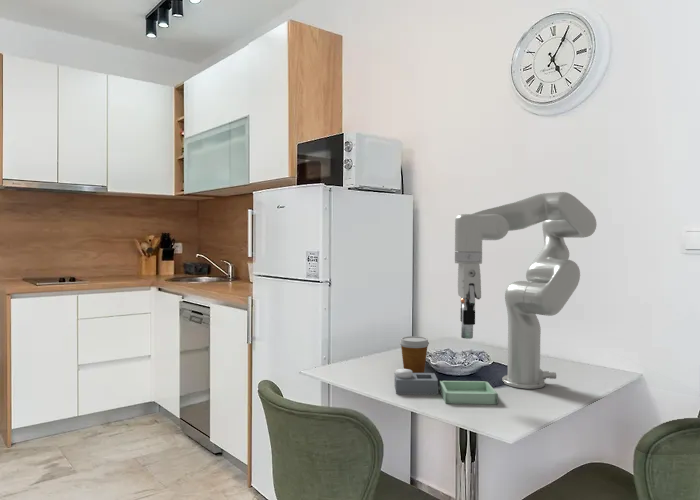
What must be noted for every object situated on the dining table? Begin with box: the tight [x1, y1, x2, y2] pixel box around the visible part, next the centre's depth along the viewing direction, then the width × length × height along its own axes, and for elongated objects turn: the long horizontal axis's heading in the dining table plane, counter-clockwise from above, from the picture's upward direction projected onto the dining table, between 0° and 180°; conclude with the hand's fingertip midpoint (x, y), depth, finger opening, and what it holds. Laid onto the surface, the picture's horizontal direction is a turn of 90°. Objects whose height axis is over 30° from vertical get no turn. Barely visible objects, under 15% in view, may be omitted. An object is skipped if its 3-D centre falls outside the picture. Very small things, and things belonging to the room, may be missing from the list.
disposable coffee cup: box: [399, 335, 430, 373], centre depth 167 cm, size 10×10×12 cm
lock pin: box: [460, 297, 474, 340], centre depth 145 cm, size 4×4×11 cm
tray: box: [438, 380, 499, 405], centre depth 145 cm, size 14×12×3 cm
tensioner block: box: [394, 368, 439, 395], centre depth 152 cm, size 12×8×6 cm, turn 88°
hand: (467, 322), depth 145 cm, fingers closed on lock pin, 3 cm apart
